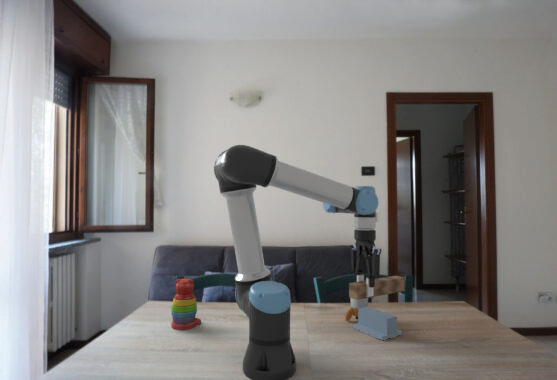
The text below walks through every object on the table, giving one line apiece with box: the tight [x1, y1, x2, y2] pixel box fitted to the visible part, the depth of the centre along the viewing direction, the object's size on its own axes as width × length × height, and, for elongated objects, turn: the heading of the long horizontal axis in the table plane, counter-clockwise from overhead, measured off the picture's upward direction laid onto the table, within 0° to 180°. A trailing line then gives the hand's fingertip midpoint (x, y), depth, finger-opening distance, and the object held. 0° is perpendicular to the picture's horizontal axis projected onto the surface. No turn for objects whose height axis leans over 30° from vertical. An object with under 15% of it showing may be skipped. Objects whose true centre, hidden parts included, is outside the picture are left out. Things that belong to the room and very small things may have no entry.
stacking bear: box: [170, 278, 202, 331], centre depth 136 cm, size 11×10×18 cm
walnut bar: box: [348, 275, 406, 300], centre depth 131 cm, size 24×4×5 cm, turn 120°
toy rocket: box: [345, 297, 369, 322], centre depth 142 cm, size 10×11×15 cm
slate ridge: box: [352, 305, 403, 341], centre depth 131 cm, size 10×14×7 cm
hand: (365, 294), depth 128 cm, fingers closed on walnut bar, 4 cm apart
